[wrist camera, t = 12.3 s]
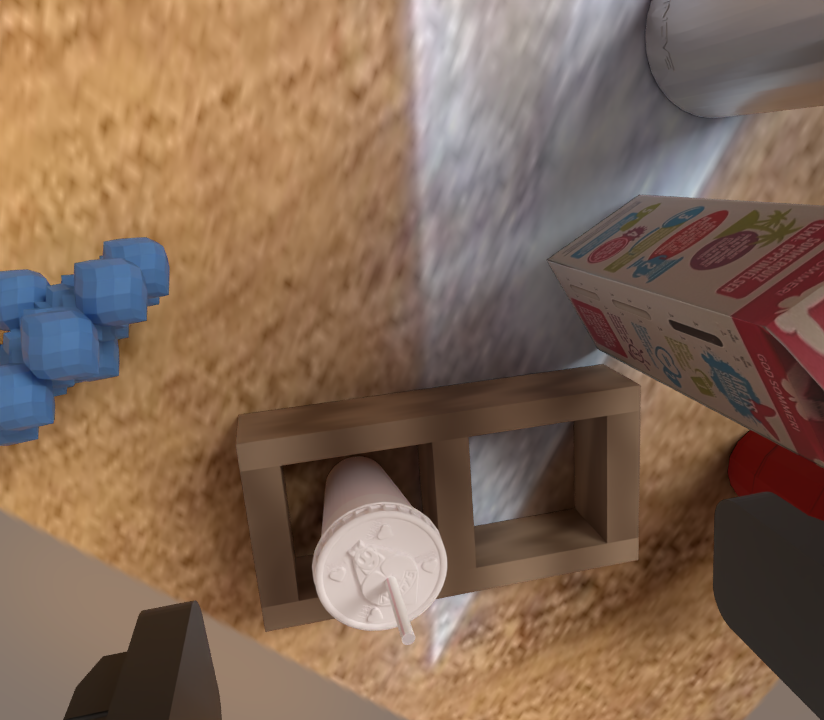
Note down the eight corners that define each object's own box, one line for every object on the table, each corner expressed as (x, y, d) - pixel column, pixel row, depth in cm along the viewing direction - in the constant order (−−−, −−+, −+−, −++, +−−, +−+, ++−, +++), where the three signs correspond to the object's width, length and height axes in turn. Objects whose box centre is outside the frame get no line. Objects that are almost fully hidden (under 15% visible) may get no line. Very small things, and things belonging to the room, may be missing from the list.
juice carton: (686, 286, 43) (1089, 395, 22) (598, 349, 42) (918, 518, 22) (639, 194, 40) (1036, 217, 20) (546, 259, 40) (846, 352, 20)
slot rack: (603, 364, 43) (640, 385, 39) (603, 524, 46) (638, 560, 42) (238, 414, 39) (235, 444, 35) (265, 585, 42) (265, 632, 38)
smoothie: (352, 553, 43) (392, 724, 29) (279, 486, 41) (286, 638, 27) (430, 483, 43) (505, 623, 29) (360, 413, 40) (407, 530, 27)
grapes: (107, 171, 35) (29, 169, 23) (214, 263, 37) (192, 304, 25) (-46, 342, 35) (-194, 422, 24) (69, 423, 37) (-17, 532, 26)
